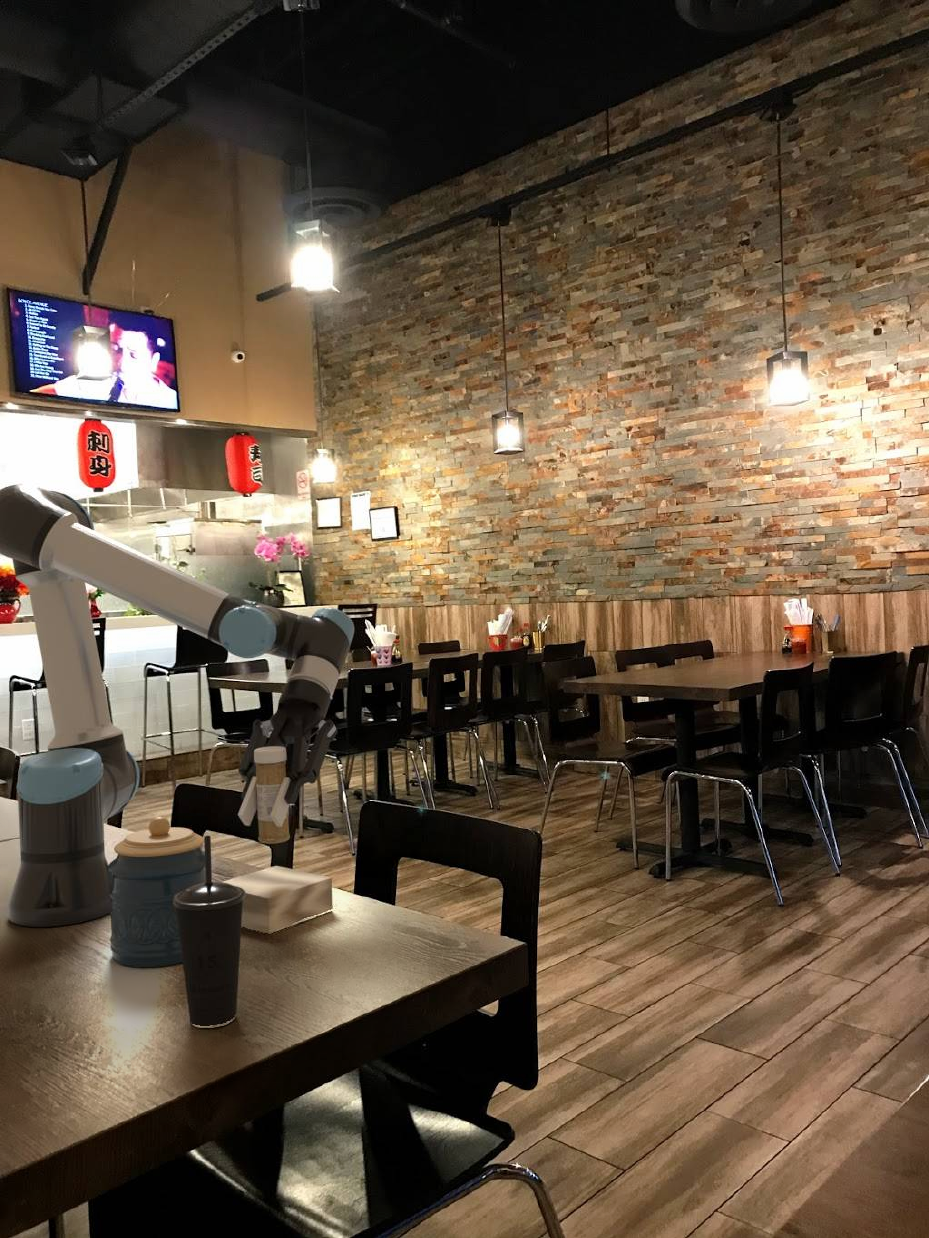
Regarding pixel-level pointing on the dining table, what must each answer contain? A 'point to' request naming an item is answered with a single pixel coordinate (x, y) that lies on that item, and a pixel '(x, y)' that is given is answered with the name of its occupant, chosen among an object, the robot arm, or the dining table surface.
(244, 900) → the maple block
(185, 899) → the drinking cup
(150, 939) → the canister
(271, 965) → the dining table surface
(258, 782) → the sprinkles bottle
